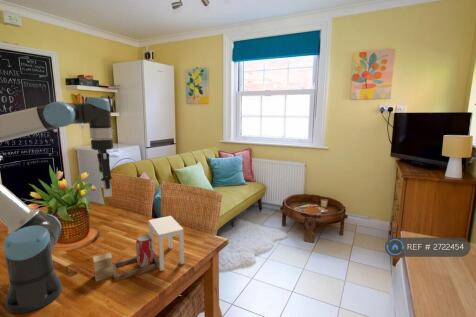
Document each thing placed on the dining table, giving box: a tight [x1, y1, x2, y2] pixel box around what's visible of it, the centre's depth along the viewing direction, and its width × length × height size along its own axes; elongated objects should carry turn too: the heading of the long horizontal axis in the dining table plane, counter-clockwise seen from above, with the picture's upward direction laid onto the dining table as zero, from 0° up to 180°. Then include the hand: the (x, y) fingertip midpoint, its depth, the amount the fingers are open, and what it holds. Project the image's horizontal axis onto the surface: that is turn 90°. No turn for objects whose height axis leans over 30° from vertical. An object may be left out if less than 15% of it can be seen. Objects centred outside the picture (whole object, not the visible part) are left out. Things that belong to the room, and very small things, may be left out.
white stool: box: [148, 215, 185, 272], centre depth 112 cm, size 10×16×16 cm, turn 33°
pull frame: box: [92, 250, 159, 282], centre depth 105 cm, size 23×11×8 cm, turn 123°
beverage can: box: [135, 234, 154, 268], centre depth 108 cm, size 6×6×12 cm
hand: (106, 191), depth 105 cm, fingers open, 13 cm apart
